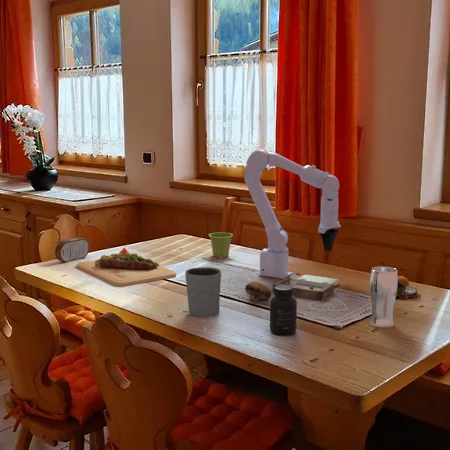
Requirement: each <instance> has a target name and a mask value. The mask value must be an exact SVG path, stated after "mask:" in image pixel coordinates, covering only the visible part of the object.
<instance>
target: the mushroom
mask: <svg viewBox="0 0 450 450" xmlns="http://www.w3.org/2000/svg"><path fill="white" fill-rule="evenodd" d="M244 289H245V292H246V294H247V295H249V298H250V300H252V301H254V302H255V303H258V302H259V300H262V301H263V300H269V299H271V298H272V291H271V288H270V287H269V286H268V285H266V284H264V283H261V282H258V281H251V282H250V281H249V282H248V283H247V284H245V287H244Z"/></svg>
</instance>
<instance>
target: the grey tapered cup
mask: <svg viewBox="0 0 450 450" xmlns="http://www.w3.org/2000/svg"><path fill="white" fill-rule="evenodd" d="M185 282H186V283H185V284H186V294H187V307H188V313H189V316H190V315H191V316H192V317H197V318H212V317H215V316H217V315H219V313H220V302H221V301H220V297H221V282H222V270H221V269H220V268H216V267H209V266H208V267H201V266H200V267H192V268H188V269H186V270H185Z"/></svg>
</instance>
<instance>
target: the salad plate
mask: <svg viewBox="0 0 450 450" xmlns="http://www.w3.org/2000/svg"><path fill="white" fill-rule="evenodd" d="M408 274H409V272H408V273H406V275H405V276H403V275H399V276H398V275H397V280H398V283H397V293H396V297H399V299H400V300H407V299H411V298H412V299H414V298H415V299H416V297H417V296H418V289H417V288H415V287H414V286H411V285H410V281H409V280H408V278H407V277H406V276H408Z"/></svg>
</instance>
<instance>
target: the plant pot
mask: <svg viewBox="0 0 450 450" xmlns="http://www.w3.org/2000/svg"><path fill="white" fill-rule="evenodd" d="M208 237H209V240H210V242H211V243H210V244H211V251H212V256H213V257H215V258H217V257H218V259H224V258H225V257H226V258H227V257H229V255H230V248H231V242H232V238H233V237H234V236H233V233H230V232H212V233H208Z"/></svg>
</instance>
